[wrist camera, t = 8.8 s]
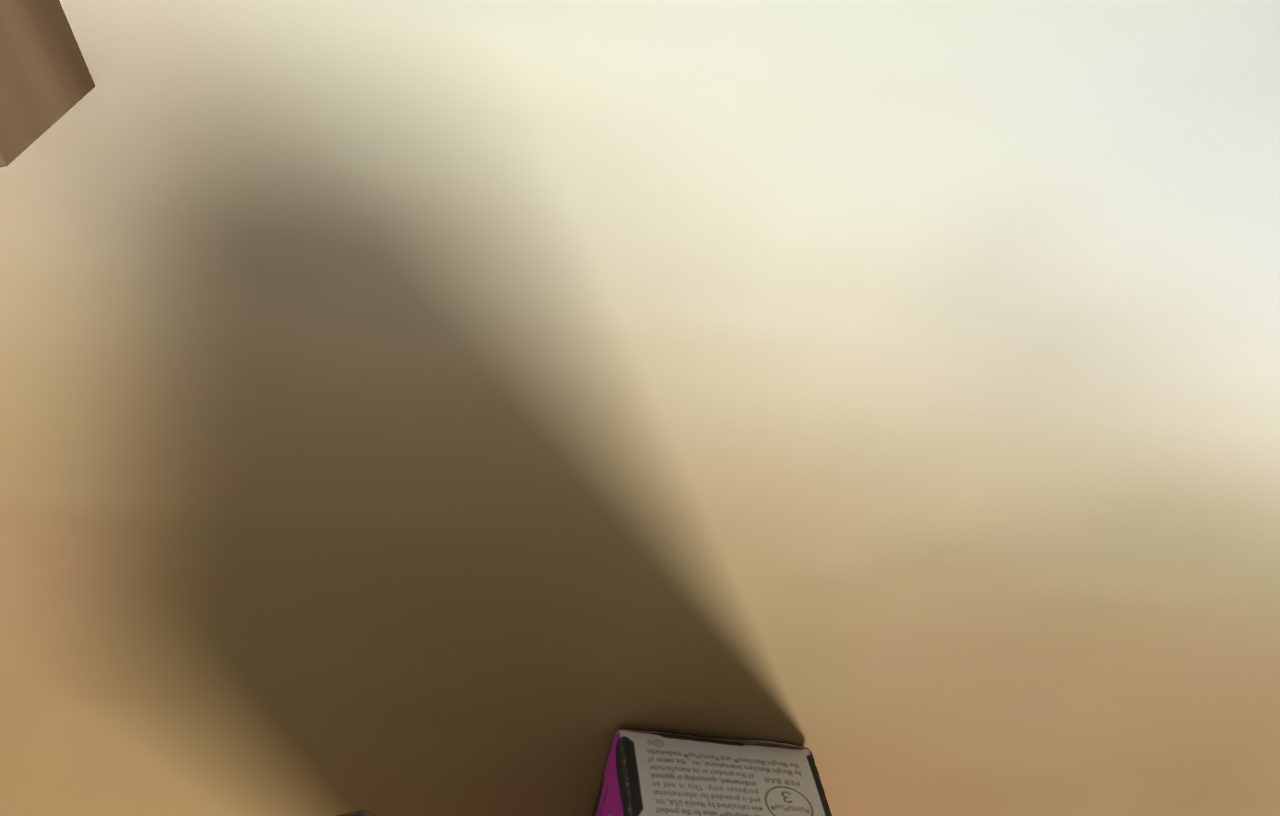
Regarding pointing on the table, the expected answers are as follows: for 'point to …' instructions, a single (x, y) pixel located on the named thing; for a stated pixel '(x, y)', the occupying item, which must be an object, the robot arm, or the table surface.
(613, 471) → the table surface
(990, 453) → the table surface
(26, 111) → the walnut base block
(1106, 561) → the table surface
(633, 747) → the candy bar box
